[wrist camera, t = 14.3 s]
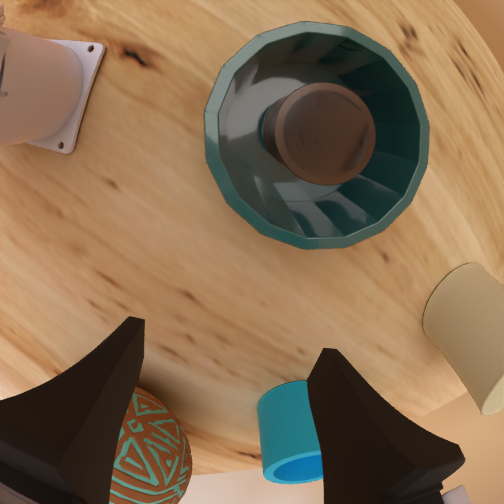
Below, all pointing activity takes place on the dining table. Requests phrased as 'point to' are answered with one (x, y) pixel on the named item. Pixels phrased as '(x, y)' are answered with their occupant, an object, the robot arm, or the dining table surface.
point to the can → (471, 332)
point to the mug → (289, 436)
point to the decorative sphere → (150, 455)
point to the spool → (321, 133)
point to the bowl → (277, 174)
